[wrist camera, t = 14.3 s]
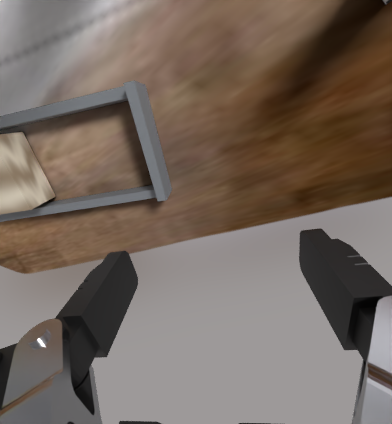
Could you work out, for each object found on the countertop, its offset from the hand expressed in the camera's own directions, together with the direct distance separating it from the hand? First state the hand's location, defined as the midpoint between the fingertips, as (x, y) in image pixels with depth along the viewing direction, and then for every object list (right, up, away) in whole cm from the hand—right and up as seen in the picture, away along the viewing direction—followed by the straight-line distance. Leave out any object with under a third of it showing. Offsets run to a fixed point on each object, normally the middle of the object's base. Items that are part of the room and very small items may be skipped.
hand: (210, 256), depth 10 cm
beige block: (-34, +10, +29) cm, 46 cm away
